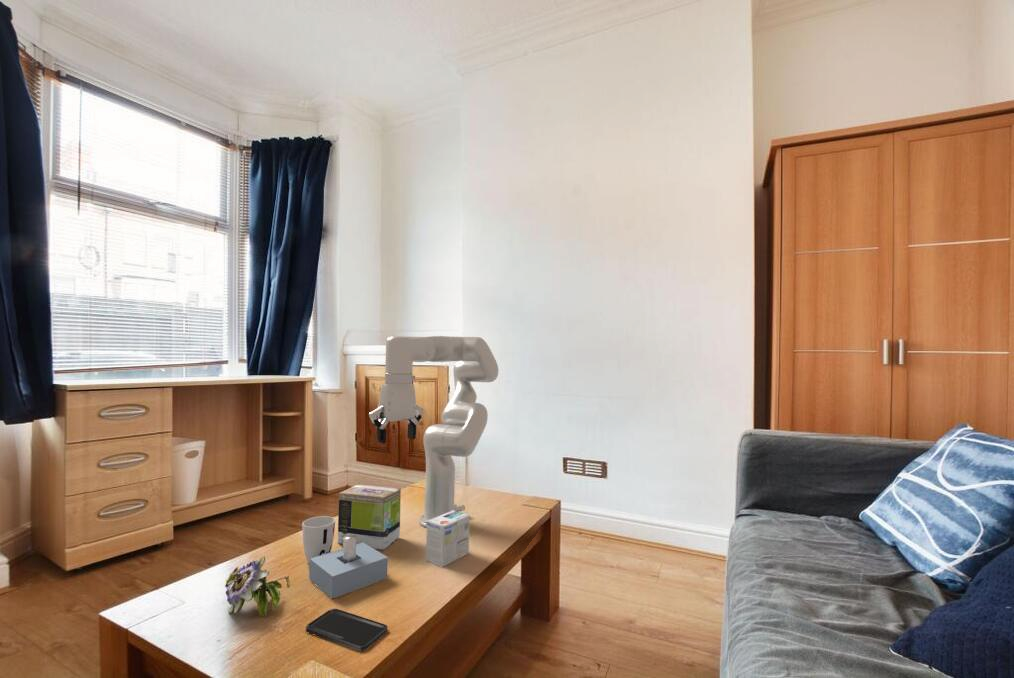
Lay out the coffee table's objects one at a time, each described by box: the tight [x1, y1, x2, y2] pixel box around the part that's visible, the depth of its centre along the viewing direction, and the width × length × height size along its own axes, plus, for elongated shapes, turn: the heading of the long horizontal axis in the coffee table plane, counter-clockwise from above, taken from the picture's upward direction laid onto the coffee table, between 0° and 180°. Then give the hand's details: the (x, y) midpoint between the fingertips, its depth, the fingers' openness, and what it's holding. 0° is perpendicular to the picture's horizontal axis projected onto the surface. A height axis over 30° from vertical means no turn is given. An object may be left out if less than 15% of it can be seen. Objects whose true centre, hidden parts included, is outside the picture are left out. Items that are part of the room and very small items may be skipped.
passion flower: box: [224, 555, 291, 618], centre depth 99 cm, size 11×11×12 cm
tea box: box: [337, 484, 402, 551], centre depth 134 cm, size 15×10×15 cm
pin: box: [342, 535, 356, 564], centre depth 111 cm, size 3×3×10 cm
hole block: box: [308, 543, 389, 600], centre depth 111 cm, size 14×12×5 cm
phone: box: [305, 608, 388, 652], centre depth 91 cm, size 8×1×15 cm
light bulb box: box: [425, 510, 471, 568], centre depth 124 cm, size 11×7×11 cm, turn 145°
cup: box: [301, 515, 336, 564], centre depth 121 cm, size 8×8×10 cm
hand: (396, 440), depth 129 cm, fingers open, 9 cm apart
